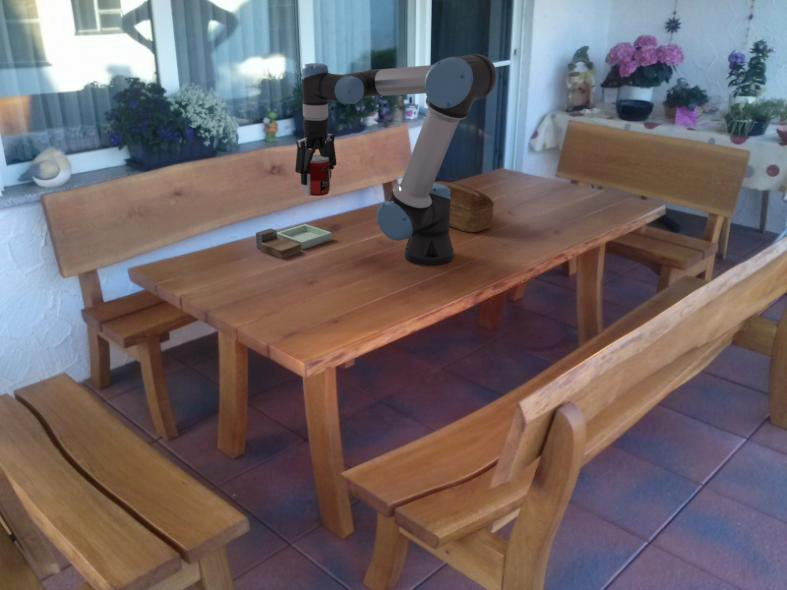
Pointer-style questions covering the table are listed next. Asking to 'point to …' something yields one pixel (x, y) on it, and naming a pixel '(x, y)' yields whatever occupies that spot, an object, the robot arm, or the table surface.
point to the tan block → (280, 247)
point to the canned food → (319, 175)
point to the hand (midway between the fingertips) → (316, 191)
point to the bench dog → (265, 236)
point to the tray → (305, 235)
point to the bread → (469, 208)
